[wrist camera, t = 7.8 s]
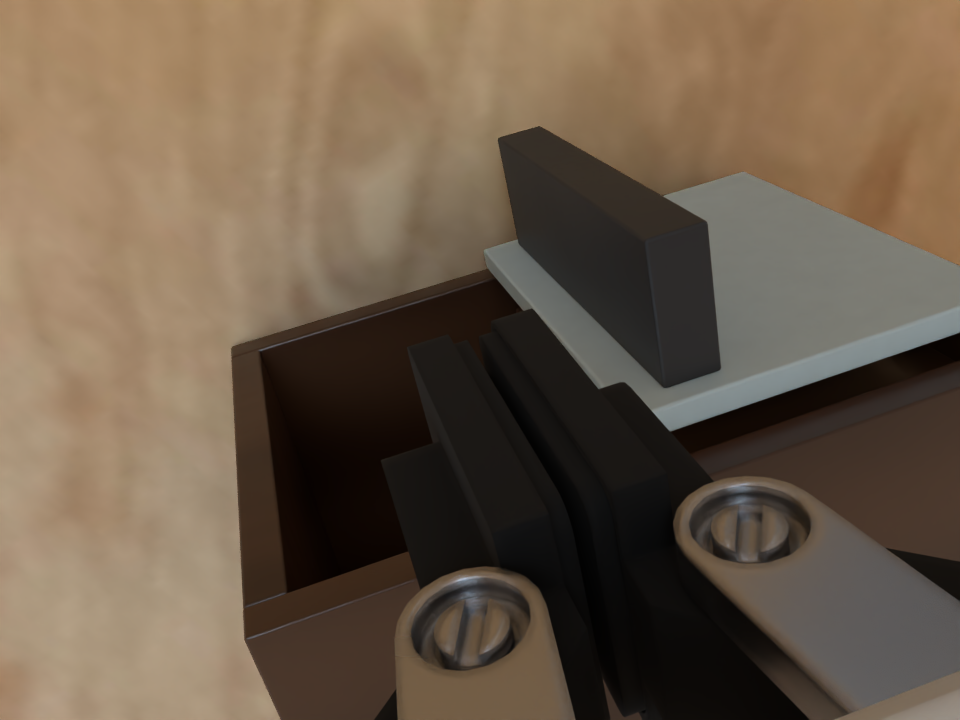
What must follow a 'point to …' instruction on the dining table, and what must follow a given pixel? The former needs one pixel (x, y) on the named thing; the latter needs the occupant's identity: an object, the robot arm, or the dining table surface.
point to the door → (707, 282)
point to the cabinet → (403, 427)
